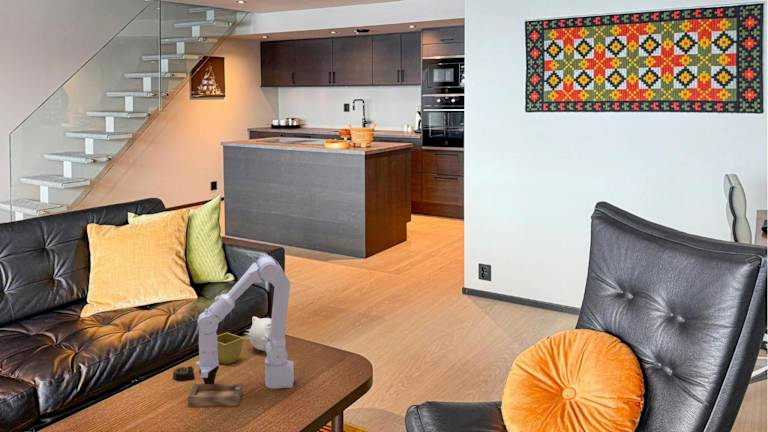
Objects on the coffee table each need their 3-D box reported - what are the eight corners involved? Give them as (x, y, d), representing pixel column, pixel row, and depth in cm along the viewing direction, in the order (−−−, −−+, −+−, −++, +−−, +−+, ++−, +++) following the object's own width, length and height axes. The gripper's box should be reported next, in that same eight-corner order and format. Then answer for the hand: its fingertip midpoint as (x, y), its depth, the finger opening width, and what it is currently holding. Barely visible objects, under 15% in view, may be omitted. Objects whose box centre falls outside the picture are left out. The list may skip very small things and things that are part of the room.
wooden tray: (242, 392, 216) (241, 381, 216) (237, 405, 208) (237, 394, 207) (194, 393, 216) (194, 382, 215) (188, 406, 207) (187, 395, 206)
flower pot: (227, 354, 249) (227, 331, 247) (244, 360, 244) (243, 337, 242) (209, 362, 242) (208, 338, 240) (225, 368, 237) (224, 344, 235)
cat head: (293, 349, 255) (292, 318, 253) (267, 359, 245) (266, 328, 243) (266, 339, 264) (265, 310, 262) (240, 349, 254) (239, 318, 252)
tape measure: (194, 383, 226) (194, 372, 225) (173, 385, 224) (173, 375, 223) (194, 375, 232) (193, 364, 231) (173, 377, 230) (172, 367, 229)
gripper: (200, 340, 221) (202, 379, 224) (190, 358, 207) (191, 399, 209) (222, 340, 221) (223, 379, 224) (213, 358, 207) (214, 399, 210)
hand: (209, 389), depth 217 cm, fingers closed
